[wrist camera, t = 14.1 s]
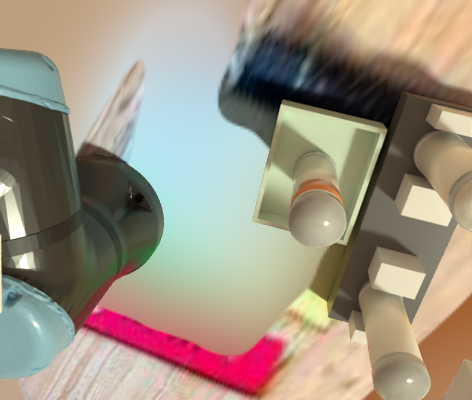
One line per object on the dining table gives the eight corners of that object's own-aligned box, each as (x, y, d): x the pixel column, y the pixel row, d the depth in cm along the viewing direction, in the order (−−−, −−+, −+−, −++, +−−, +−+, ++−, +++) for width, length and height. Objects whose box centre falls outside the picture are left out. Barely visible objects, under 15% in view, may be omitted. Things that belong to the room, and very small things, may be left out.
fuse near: (405, 169, 44) (441, 224, 32) (422, 124, 42) (468, 165, 30) (452, 180, 43) (506, 241, 31) (471, 135, 42) (536, 182, 30)
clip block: (327, 302, 54) (329, 336, 48) (401, 90, 44) (416, 102, 38) (400, 321, 54) (411, 358, 48) (493, 112, 43) (522, 126, 37)
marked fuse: (288, 185, 48) (282, 239, 37) (299, 146, 47) (296, 189, 35) (329, 196, 48) (336, 254, 36) (342, 156, 46) (354, 204, 34)
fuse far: (352, 306, 50) (366, 395, 38) (365, 273, 49) (383, 355, 37) (392, 317, 50) (418, 410, 38) (407, 284, 48) (439, 370, 36)
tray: (255, 210, 51) (252, 221, 48) (282, 99, 46) (281, 104, 43) (344, 233, 50) (346, 245, 48) (382, 123, 45) (387, 130, 43)
